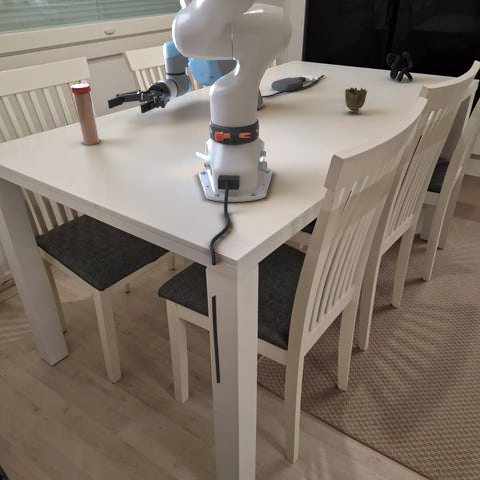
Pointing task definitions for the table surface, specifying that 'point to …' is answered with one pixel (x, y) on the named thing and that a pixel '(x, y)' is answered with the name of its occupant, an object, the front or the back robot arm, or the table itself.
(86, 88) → the lid
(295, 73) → the table surface
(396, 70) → the squiggle
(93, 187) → the table surface
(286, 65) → the table surface
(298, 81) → the spray bottle
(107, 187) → the table surface
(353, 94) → the olive tapered piece
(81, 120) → the jar
